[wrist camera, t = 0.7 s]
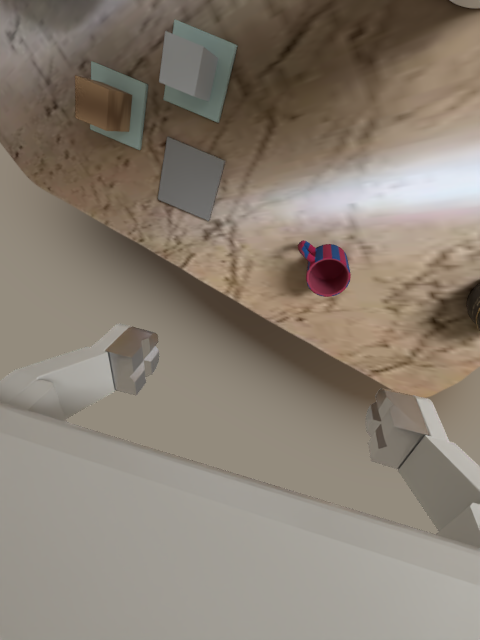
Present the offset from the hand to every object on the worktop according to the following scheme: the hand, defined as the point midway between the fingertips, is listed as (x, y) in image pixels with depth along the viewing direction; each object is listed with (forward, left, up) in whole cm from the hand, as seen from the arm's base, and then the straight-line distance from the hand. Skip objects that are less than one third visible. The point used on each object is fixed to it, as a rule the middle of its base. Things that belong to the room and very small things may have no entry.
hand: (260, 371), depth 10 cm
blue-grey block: (-9, -21, -42) cm, 48 cm away
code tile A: (-1, -33, -43) cm, 54 cm away
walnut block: (-1, -33, -42) cm, 54 cm away
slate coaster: (+5, -19, -43) cm, 47 cm away
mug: (+8, +7, -43) cm, 45 cm away
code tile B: (-9, -21, -43) cm, 49 cm away
